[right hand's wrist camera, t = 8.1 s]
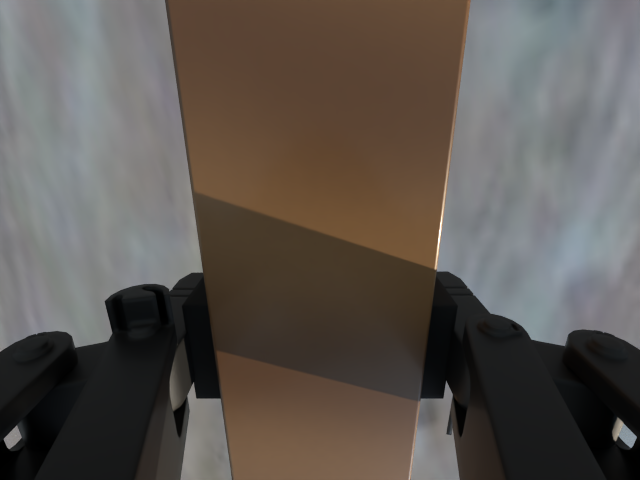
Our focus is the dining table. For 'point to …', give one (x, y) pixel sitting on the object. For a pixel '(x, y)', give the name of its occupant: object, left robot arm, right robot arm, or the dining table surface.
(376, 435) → the bar
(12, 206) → the dining table surface
